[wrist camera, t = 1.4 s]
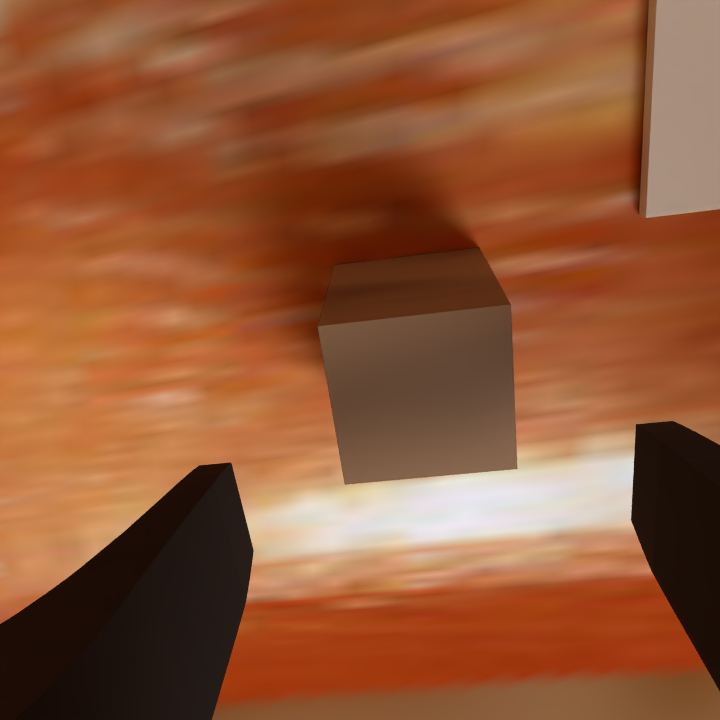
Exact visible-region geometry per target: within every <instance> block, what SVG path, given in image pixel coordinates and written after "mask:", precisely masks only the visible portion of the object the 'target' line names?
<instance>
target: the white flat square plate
mask: <svg viewBox="0 0 720 720" xmlns="http://www.w3.org/2000/svg"><path fill="white" fill-rule="evenodd" d="M717 209H720V0H649V9H648V31H647V53H646V75H645V97H644V119H643V141H642V163H641V185H640V207H639V215H641V216H643V217H645V218H651V217H659V216H667V215H676V214H684V213H692V212H700V211H708V210H717Z"/></svg>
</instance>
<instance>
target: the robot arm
mask: <svg viewBox="0 0 720 720" xmlns="http://www.w3.org/2000/svg"><path fill="white" fill-rule="evenodd" d="M631 521H632V523H633V526H634V529H635V531H636V534H637V536H638V539H639V541H640V544H641V547H642V549H643V552H644V554H645V556H646V559H647V561H648V563H649V566H650V568H651V571H652V573H653V574H654V576H655V578H656V580H657V582H658V584H659V585H660V587H661V589H662V591H663V592H664V594H665V596H666V598H667V600H668V601H669V603H670V605H671V607H672V608H673V610H674V612H675V614H676V615H677V617H678V619H679V621H680V622H681V624H682V626H683V628H684V629H685V631H686V633H687V635H688V636H689V638H690V640H691V642H692V643H693V645H694V647H695V649H696V650H697V652H698V654H699V656H700V657H701V659H702V661H703V663H704V664H705V666H706V668H707V670H708V671H709V673H710V675H711V677H712V678H713V680H714V682H715V683H716V685H717V687H718V689H719V691H720V445H719V444H717V443H715V442H713V441H711V440H709V439H708V438H706V437H704V436H702V435H700V434H698V433H696V432H694V431H692V430H691V429H689V428H687V427H685V426H683V425H680V424H678V423H676V422H674V421H668V422H657V423H647V424H636V437H635V456H634V476H633V495H632V515H631ZM252 559H253V547H252V543H251V539H250V535H249V531H248V527H247V523H246V519H245V515H244V511H243V507H242V503H241V499H240V495H239V491H238V487H237V483H236V480H235V476H234V472H233V468H232V464H231V463H221V464H211V465H200V466H198V467H197V468H195V469H194V470H193V471H192V472H190V473H189V474H188V475H187V476H186V477H185V478H183V479H182V480H181V481H180V482H179V483H178V484H177V485H176V486H174V487H173V488H172V489H171V490H170V491H169V492H168V493H167V494H166V495H165V496H163V497H162V498H161V499H160V500H159V501H158V502H157V503H156V504H155V505H154V506H152V507H151V508H150V509H149V510H148V511H147V512H146V513H145V514H143V515H142V516H141V517H140V518H139V519H138V520H137V521H136V522H135V523H133V524H132V525H131V526H130V527H129V528H128V529H127V530H126V531H124V532H123V533H122V534H121V535H120V536H119V537H117V538H116V539H115V540H114V541H112V542H111V543H110V544H109V545H108V546H106V547H105V548H104V549H103V550H102V551H100V552H99V553H98V554H97V555H95V556H94V557H93V558H92V559H91V560H89V561H88V562H87V563H86V564H85V565H83V566H82V567H81V568H80V569H78V570H77V571H76V572H75V573H73V574H72V575H71V576H69V577H68V578H67V579H65V580H64V581H63V582H61V583H60V584H59V585H57V586H56V587H55V588H53V589H52V590H50V591H49V592H48V593H46V594H45V595H43V596H42V597H40V598H39V599H38V600H36V601H35V602H33V603H32V604H30V605H29V606H27V607H26V608H25V609H23V610H22V611H20V612H19V613H17V614H16V615H14V616H13V617H11V618H10V619H8V620H6V621H5V622H3V623H1V624H0V720H212V717H213V714H214V710H215V707H216V703H217V700H218V697H219V693H220V690H221V686H222V683H223V680H224V676H225V673H226V669H227V666H228V663H229V659H230V656H231V652H232V649H233V646H234V642H235V639H236V635H237V632H238V628H239V625H240V621H241V618H242V614H243V611H244V607H245V603H246V598H247V592H248V586H249V580H250V573H251V566H252Z"/></svg>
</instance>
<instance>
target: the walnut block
mask: <svg viewBox="0 0 720 720" xmlns="http://www.w3.org/2000/svg"><path fill="white" fill-rule="evenodd" d="M318 332H319V338H320V344H321V350H322V355H323V361H324V367H325V373H326V379H327V384H328V390H329V396H330V402H331V408H332V413H333V419H334V425H335V431H336V437H337V442H338V448H339V454H340V460H341V466H342V471H343V477H344V483H345V484H356V483H367V482H378V481H389V480H400V479H411V478H422V477H433V476H444V475H455V474H466V473H477V472H488V471H499V470H510V469H517V448H516V423H515V398H514V373H513V347H512V322H511V304H510V302H509V300H508V299H507V297H506V295H505V293H504V291H503V289H502V288H501V286H500V284H499V282H498V280H497V279H496V277H495V275H494V273H493V271H492V270H491V268H490V266H489V264H488V262H487V261H486V259H485V257H484V255H483V253H482V251H481V250H480V248H470V249H462V250H454V251H446V252H438V253H429V254H421V255H413V256H405V257H396V258H388V259H380V260H372V261H364V262H355V263H347V264H339V265H334V267H333V271H332V274H331V278H330V282H329V286H328V289H327V293H326V297H325V300H324V304H323V308H322V312H321V315H320V319H319V323H318Z"/></svg>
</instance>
